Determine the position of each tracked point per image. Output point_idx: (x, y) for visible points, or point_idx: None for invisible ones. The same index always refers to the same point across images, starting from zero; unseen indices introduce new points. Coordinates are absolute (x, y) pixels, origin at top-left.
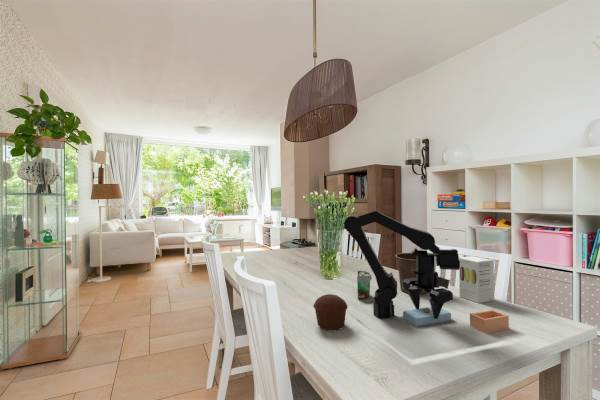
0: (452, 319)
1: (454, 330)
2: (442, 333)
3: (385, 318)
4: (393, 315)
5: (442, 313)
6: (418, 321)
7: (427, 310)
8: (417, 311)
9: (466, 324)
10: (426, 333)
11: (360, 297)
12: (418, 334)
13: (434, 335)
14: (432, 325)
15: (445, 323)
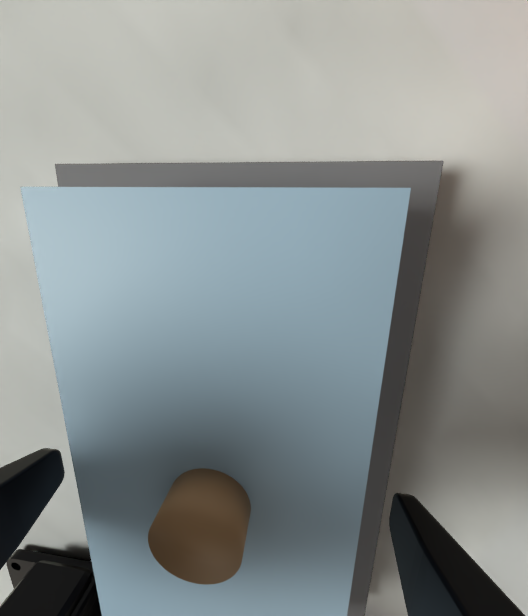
0: (361, 164)
1: (518, 329)
2: (493, 473)
3: None
4: (87, 587)
5: (356, 360)
6: None
7: (239, 562)
8: (163, 574)
9: (490, 32)
10: None
11: None
12: (401, 612)
13: (481, 547)
14: (381, 494)
15: (409, 348)
